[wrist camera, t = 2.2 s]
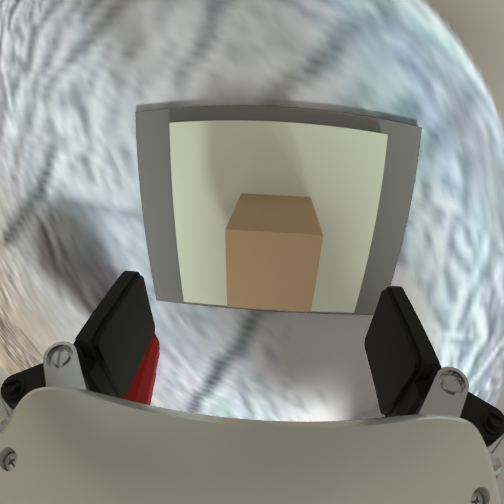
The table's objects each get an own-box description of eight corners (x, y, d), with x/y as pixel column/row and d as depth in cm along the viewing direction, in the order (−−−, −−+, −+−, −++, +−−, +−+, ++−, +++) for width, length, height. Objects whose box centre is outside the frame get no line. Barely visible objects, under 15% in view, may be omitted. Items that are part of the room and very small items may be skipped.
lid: (382, 133, 17) (431, 147, 10) (351, 305, 23) (368, 367, 17) (174, 122, 18) (124, 131, 11) (187, 294, 24) (160, 353, 18)
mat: (418, 126, 16) (421, 127, 16) (379, 311, 24) (380, 314, 23) (138, 112, 18) (135, 112, 17) (158, 297, 25) (156, 300, 25)
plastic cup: (142, 284, 25) (77, 386, 14) (200, 363, 29) (172, 461, 18) (76, 309, 28) (20, 385, 17) (130, 373, 32) (96, 450, 21)
